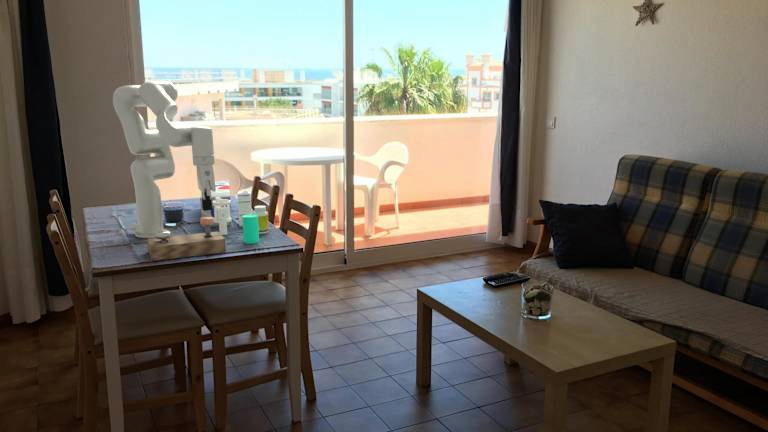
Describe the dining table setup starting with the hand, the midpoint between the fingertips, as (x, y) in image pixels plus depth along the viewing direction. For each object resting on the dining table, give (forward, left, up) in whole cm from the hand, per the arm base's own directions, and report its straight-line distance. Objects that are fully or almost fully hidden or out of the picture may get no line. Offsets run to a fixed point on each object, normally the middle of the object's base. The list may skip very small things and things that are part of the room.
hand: (207, 209), depth 237 cm
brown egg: (0, 0, -10) cm, 11 cm away
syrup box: (-4, +39, -16) cm, 42 cm away
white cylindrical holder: (-6, +22, -16) cm, 28 cm away
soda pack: (-23, +51, -16) cm, 58 cm away
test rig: (-7, -5, -15) cm, 17 cm away
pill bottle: (+8, +28, -16) cm, 33 cm away
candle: (+10, +14, -16) cm, 23 cm away
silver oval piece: (-13, -10, -14) cm, 21 cm away
